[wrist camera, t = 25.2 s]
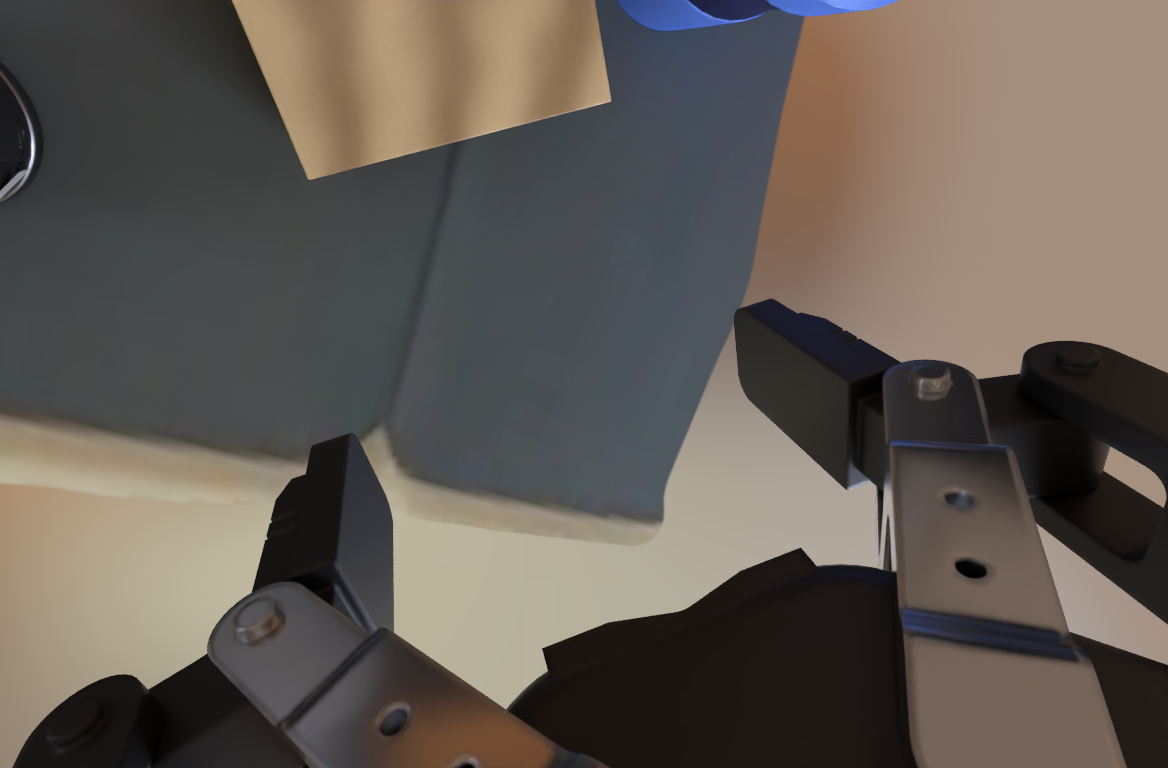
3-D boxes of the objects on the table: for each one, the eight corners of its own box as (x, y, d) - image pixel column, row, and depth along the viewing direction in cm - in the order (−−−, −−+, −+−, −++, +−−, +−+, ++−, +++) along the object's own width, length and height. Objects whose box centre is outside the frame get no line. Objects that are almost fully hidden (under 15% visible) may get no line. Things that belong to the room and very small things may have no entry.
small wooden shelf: (324, 157, 37) (308, 180, 30) (247, -35, 32) (202, -67, 25) (568, 94, 40) (611, 101, 32) (531, -94, 35) (572, -140, 27)
